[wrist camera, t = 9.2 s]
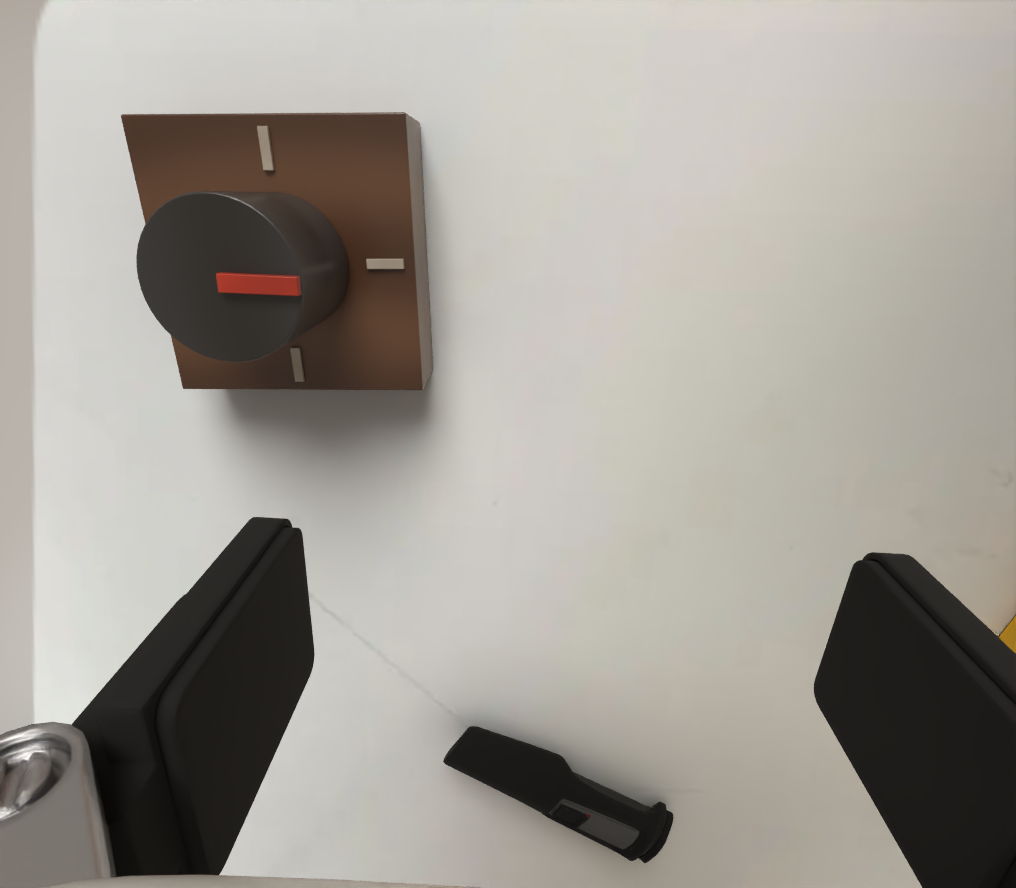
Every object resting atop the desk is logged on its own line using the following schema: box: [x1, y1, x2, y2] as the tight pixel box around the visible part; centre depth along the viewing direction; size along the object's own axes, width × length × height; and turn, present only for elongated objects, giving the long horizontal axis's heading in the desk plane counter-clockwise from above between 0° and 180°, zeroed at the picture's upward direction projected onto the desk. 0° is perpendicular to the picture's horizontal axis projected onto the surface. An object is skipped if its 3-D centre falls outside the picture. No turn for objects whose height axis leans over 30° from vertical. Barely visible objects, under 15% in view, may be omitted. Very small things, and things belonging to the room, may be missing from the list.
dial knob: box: [137, 191, 348, 362], centre depth 20 cm, size 5×5×5 cm
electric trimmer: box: [443, 726, 673, 863], centre depth 35 cm, size 4×16×3 cm, turn 57°
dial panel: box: [121, 112, 433, 390], centre depth 24 cm, size 10×10×3 cm
